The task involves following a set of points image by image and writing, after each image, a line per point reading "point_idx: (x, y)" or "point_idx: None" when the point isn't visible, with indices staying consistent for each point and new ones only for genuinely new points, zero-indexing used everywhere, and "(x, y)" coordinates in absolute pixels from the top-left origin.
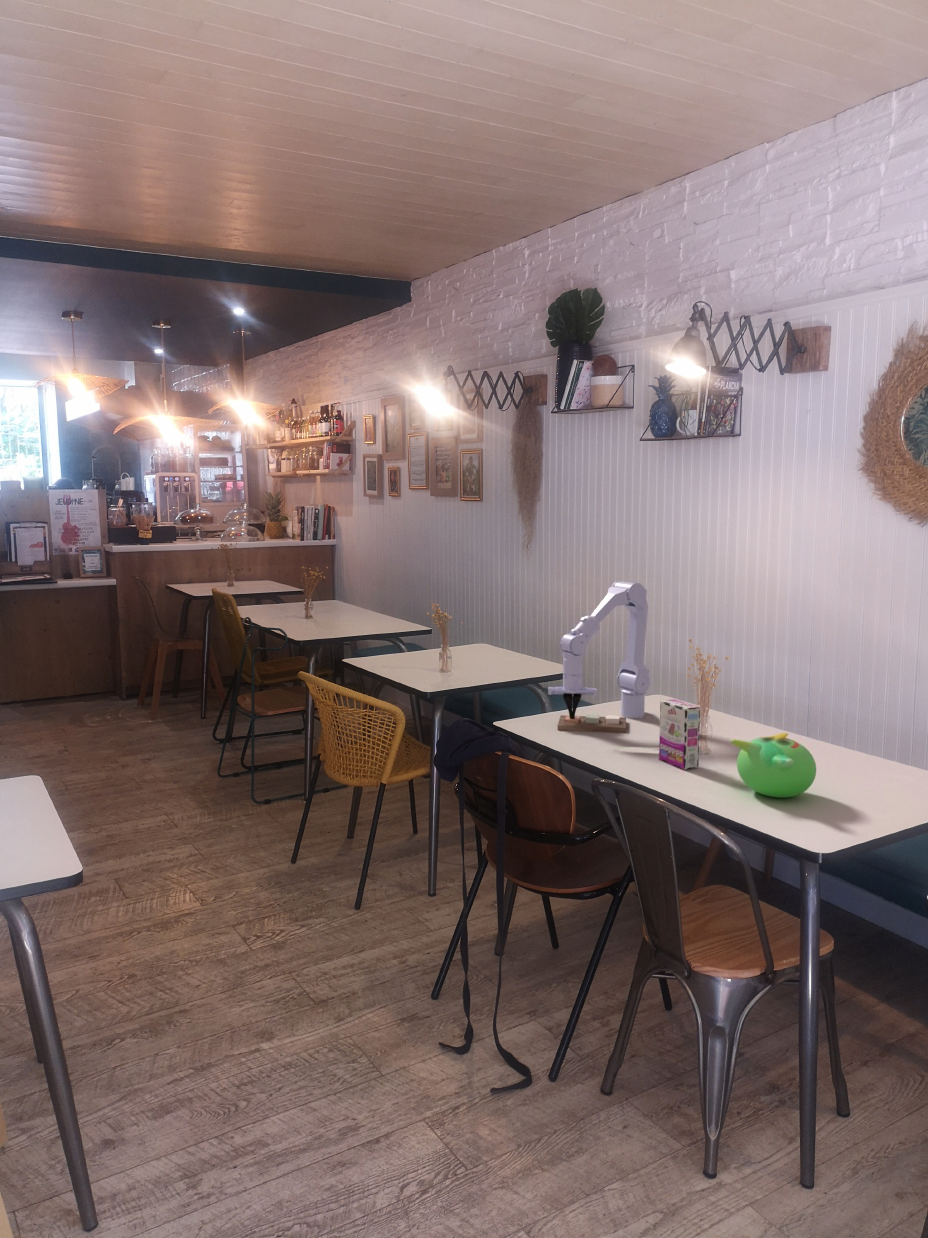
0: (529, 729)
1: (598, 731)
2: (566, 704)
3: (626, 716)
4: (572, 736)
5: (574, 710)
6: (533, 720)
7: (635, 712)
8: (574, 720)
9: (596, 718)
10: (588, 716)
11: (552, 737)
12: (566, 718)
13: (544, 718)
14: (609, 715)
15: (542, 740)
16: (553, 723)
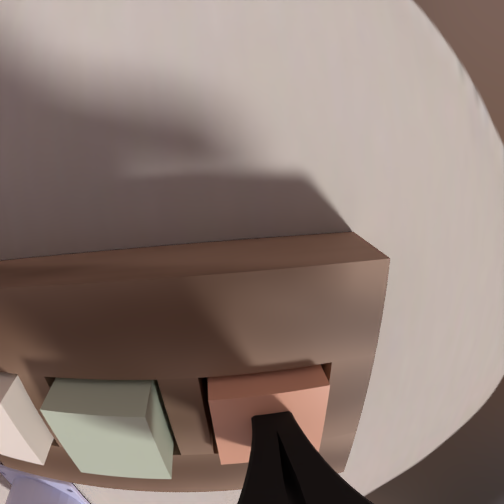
0: (478, 312)
1: (33, 271)
2: (368, 502)
3: (48, 498)
4: (236, 218)
5: (260, 472)
6: (429, 435)
7: (14, 501)
8: (246, 392)
9: (56, 410)
10: (134, 448)
11: (382, 163)
12: (319, 408)
13: (384, 468)
14: (24, 459)
15: (431, 82)
16: (360, 437)
